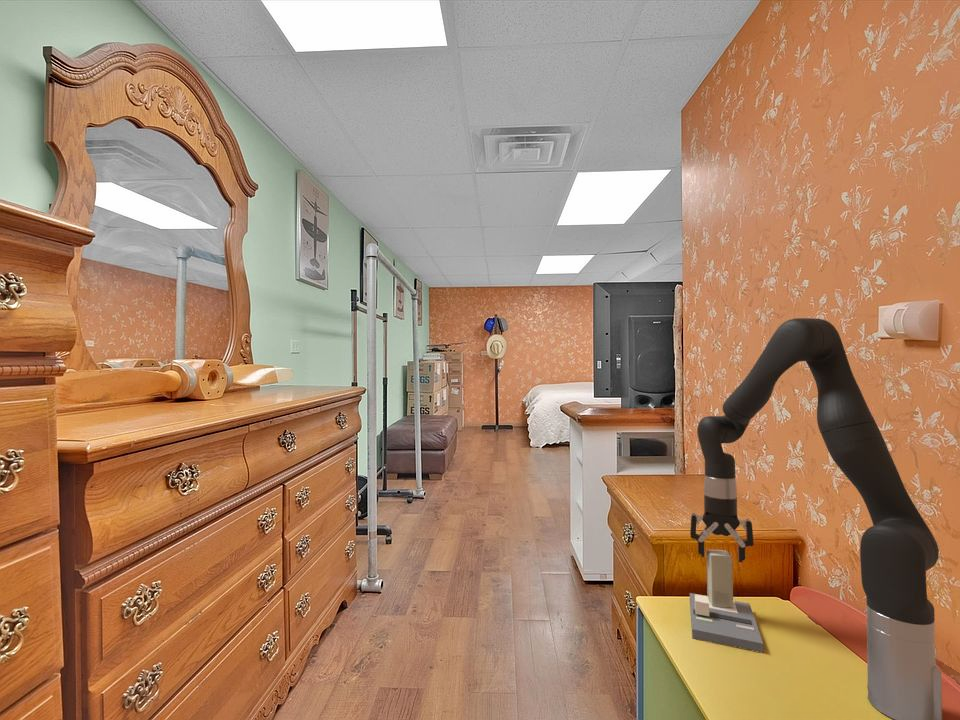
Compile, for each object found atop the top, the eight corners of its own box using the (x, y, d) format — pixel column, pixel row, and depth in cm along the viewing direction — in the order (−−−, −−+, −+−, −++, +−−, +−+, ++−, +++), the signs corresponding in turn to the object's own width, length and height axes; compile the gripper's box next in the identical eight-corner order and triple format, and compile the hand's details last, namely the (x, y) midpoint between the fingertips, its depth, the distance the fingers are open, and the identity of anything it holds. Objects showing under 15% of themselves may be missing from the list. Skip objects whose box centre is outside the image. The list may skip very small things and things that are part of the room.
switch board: (749, 611, 120) (749, 602, 120) (763, 653, 101) (763, 642, 102) (689, 600, 125) (689, 592, 125) (692, 638, 107) (692, 628, 107)
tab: (708, 608, 116) (708, 596, 116) (709, 616, 112) (709, 603, 112) (694, 606, 117) (694, 594, 117) (695, 613, 113) (695, 601, 113)
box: (727, 600, 121) (727, 550, 121) (733, 608, 117) (733, 556, 117) (705, 598, 122) (705, 548, 122) (710, 606, 117) (710, 554, 118)
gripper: (690, 494, 120) (691, 559, 119) (754, 500, 114) (755, 568, 113) (689, 488, 126) (690, 550, 126) (749, 494, 121) (751, 558, 120)
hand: (721, 558), depth 119 cm, fingers open, 8 cm apart
